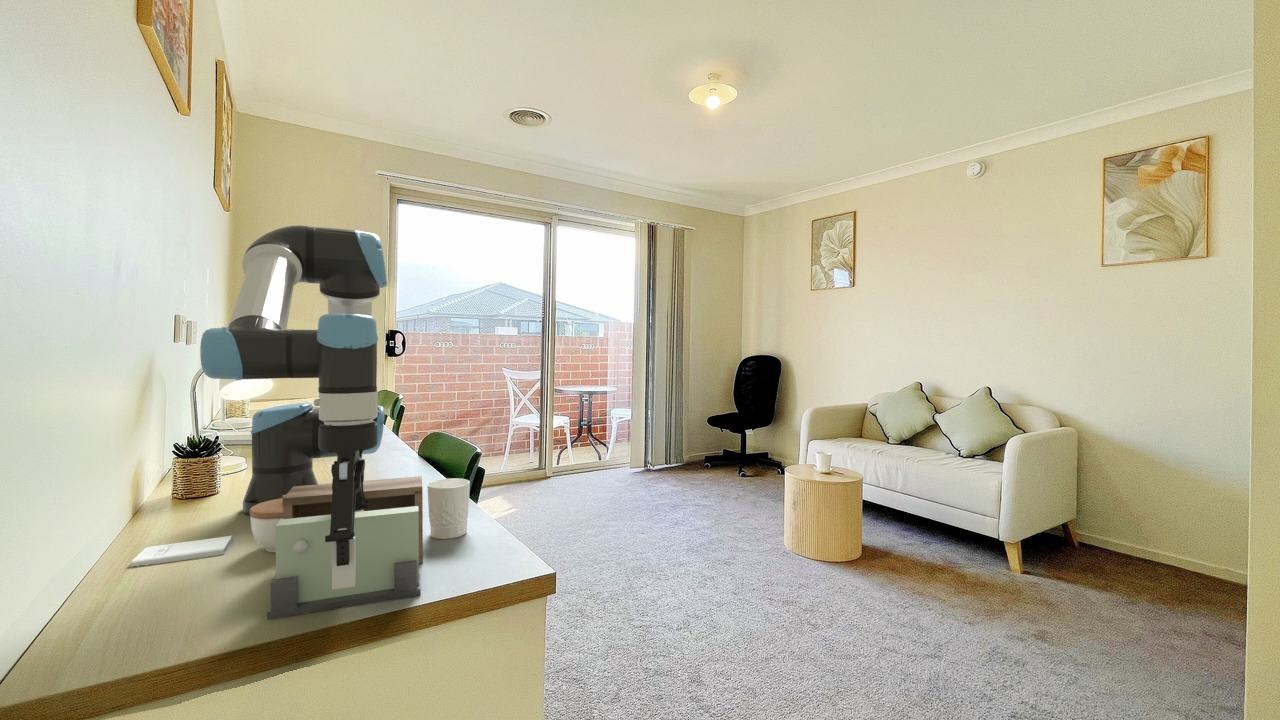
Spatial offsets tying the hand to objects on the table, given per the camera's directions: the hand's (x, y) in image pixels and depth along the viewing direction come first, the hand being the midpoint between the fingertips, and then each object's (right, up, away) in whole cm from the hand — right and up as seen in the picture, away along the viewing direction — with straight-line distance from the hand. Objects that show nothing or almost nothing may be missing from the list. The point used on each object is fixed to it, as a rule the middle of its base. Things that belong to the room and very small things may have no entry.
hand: (349, 568), depth 79 cm
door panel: (0, -3, 0) cm, 3 cm away
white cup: (+5, -4, +28) cm, 29 cm away
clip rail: (0, -4, 0) cm, 4 cm away
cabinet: (-5, -4, +13) cm, 15 cm away
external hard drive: (-38, -5, +18) cm, 43 cm away
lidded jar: (-23, -4, +21) cm, 31 cm away
